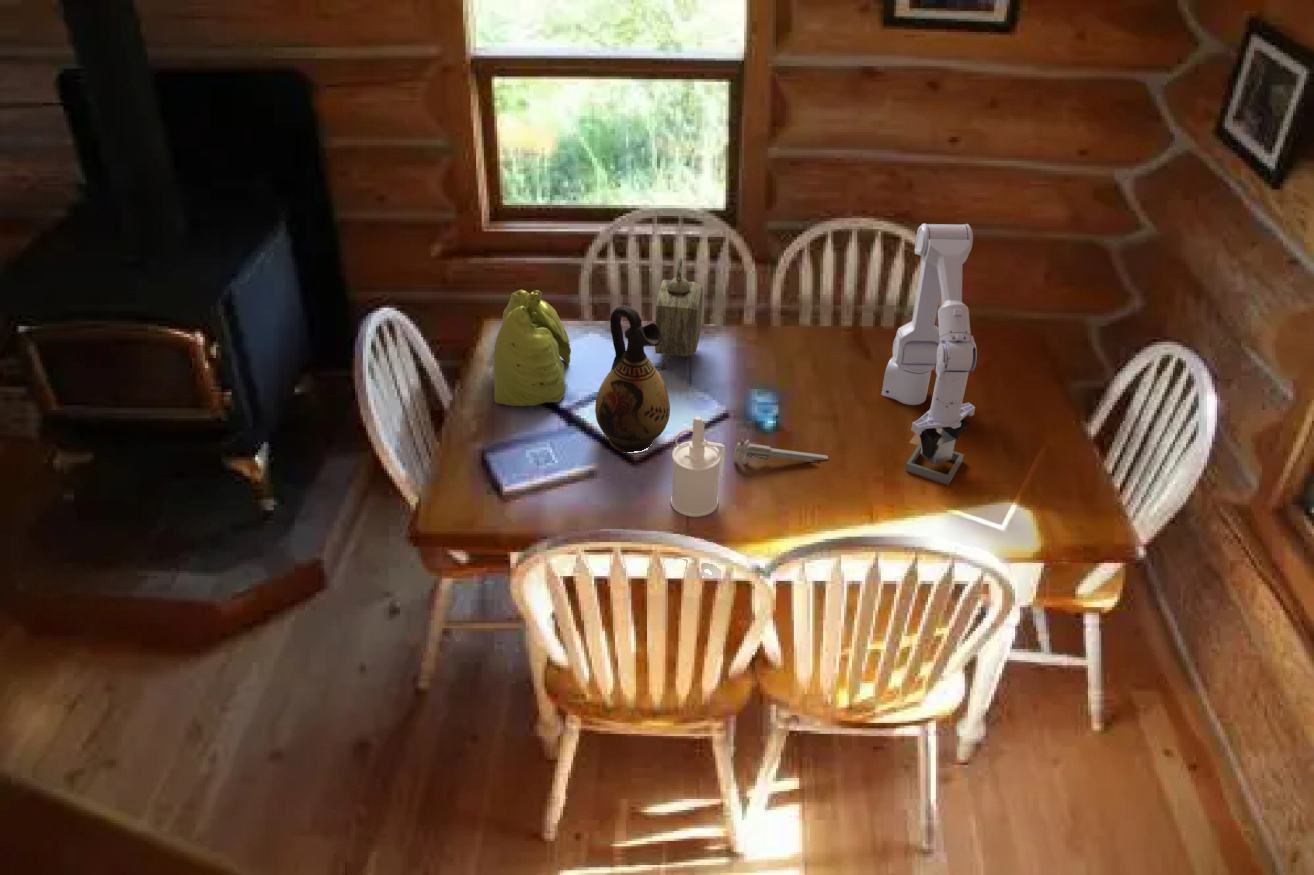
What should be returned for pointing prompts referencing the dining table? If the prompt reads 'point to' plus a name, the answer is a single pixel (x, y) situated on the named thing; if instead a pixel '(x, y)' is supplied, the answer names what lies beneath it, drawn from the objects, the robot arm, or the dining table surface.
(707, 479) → the white cylinder with rod
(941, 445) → the grey block
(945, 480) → the bin
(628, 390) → the ceramic jug
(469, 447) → the dining table surface
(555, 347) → the lungs
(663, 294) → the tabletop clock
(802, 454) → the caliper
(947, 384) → the robot arm
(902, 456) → the dining table surface
